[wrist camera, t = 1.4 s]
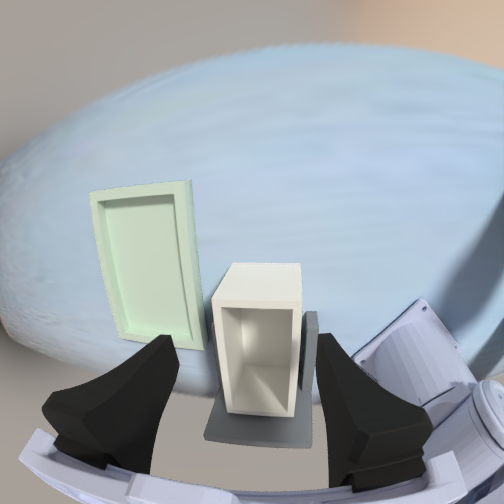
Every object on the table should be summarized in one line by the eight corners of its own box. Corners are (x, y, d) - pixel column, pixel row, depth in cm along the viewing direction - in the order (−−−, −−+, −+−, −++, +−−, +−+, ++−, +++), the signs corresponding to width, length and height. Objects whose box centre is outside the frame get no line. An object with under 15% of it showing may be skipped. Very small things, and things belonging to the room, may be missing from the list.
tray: (208, 340, 23) (203, 350, 22) (127, 330, 25) (119, 338, 23) (191, 179, 19) (183, 181, 18) (99, 190, 20) (89, 192, 19)
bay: (309, 378, 23) (310, 448, 16) (226, 374, 24) (205, 440, 17) (316, 311, 21) (324, 383, 13) (219, 308, 22) (186, 374, 15)
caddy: (295, 366, 23) (293, 416, 18) (240, 364, 24) (227, 412, 18) (300, 262, 20) (302, 301, 14) (233, 262, 21) (211, 298, 15)
